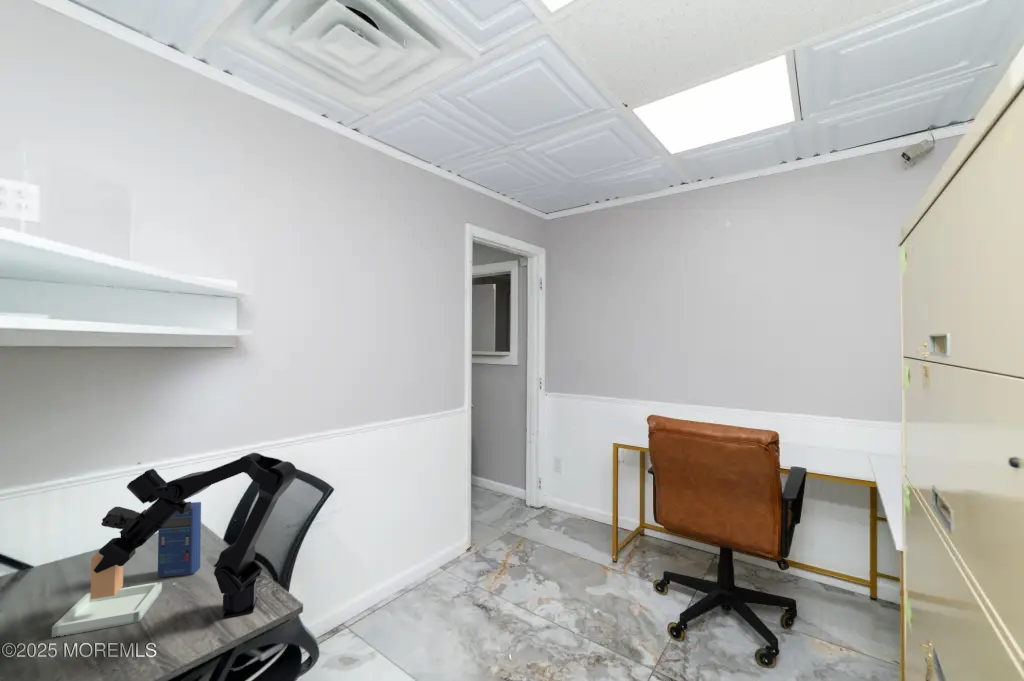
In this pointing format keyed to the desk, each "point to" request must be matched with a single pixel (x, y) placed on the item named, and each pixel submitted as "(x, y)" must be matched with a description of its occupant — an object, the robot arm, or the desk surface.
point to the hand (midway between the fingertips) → (100, 566)
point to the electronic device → (180, 543)
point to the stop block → (105, 579)
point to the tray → (108, 610)
